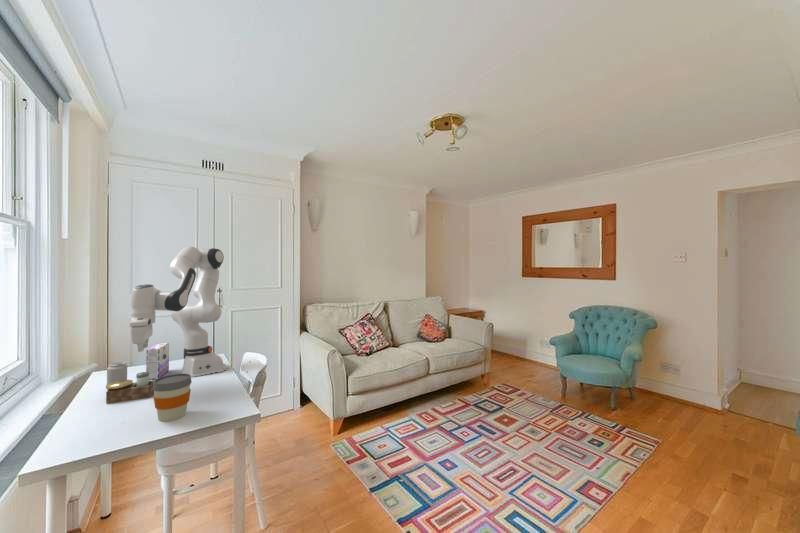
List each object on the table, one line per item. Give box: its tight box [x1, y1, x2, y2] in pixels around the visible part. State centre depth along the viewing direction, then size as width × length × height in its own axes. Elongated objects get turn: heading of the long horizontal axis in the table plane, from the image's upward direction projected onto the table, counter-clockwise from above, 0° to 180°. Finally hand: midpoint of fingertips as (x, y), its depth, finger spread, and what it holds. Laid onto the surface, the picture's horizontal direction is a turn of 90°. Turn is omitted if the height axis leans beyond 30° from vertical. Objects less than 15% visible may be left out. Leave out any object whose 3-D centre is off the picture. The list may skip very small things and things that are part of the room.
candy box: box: [145, 342, 170, 381], centre depth 173 cm, size 14×6×16 cm, turn 17°
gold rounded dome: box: [105, 379, 134, 390], centre depth 142 cm, size 9×9×6 cm
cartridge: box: [135, 371, 150, 387], centre depth 146 cm, size 5×5×10 cm
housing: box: [105, 379, 155, 405], centre depth 144 cm, size 16×9×5 cm, turn 118°
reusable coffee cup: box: [152, 373, 192, 423], centre depth 125 cm, size 13×13×15 cm
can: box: [106, 361, 128, 385], centre depth 155 cm, size 8×8×12 cm
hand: (143, 349), depth 146 cm, fingers open, 6 cm apart
